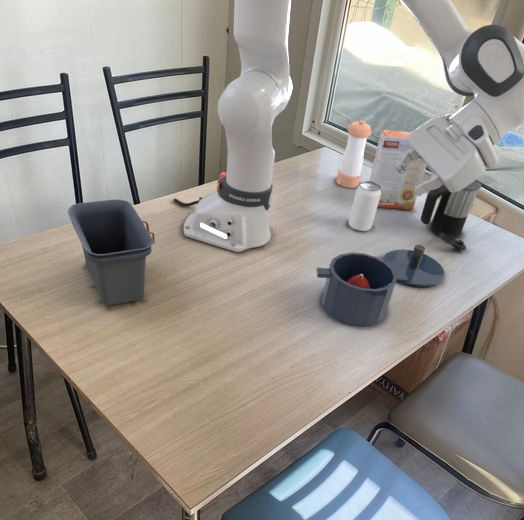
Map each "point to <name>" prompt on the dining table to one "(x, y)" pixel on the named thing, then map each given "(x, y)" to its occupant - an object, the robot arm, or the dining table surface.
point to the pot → (358, 288)
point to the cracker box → (395, 171)
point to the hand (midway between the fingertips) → (406, 180)
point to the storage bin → (113, 248)
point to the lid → (415, 266)
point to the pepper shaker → (353, 155)
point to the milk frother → (450, 212)
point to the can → (365, 206)
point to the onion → (359, 281)
